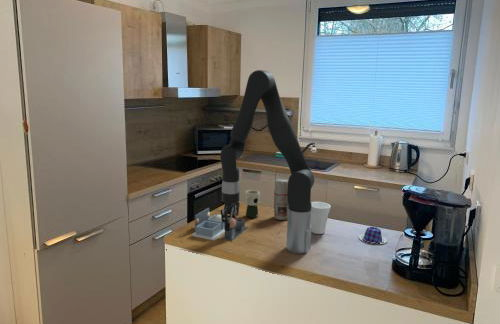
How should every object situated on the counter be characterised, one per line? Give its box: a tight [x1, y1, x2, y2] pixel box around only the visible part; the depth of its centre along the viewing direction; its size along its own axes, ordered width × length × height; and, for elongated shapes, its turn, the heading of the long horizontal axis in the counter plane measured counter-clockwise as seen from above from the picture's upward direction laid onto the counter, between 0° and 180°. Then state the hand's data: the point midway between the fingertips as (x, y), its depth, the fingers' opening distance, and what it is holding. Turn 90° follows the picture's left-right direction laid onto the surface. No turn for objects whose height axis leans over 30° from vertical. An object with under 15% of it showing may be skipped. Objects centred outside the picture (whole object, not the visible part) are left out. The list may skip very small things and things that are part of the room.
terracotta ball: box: [224, 217, 237, 229], centre depth 170 cm, size 5×5×5 cm
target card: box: [194, 207, 211, 233], centre depth 181 cm, size 1×13×8 cm, turn 157°
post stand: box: [221, 218, 248, 242], centre depth 176 cm, size 5×16×5 cm, turn 157°
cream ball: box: [214, 214, 222, 222], centre depth 183 cm, size 5×5×5 cm
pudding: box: [358, 226, 388, 245], centre depth 174 cm, size 12×12×5 cm
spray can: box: [273, 178, 289, 221], centre depth 196 cm, size 8×8×20 cm
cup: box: [310, 201, 332, 235], centre depth 179 cm, size 10×10×13 cm
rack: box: [191, 213, 225, 241], centre depth 179 cm, size 11×20×4 cm, turn 157°
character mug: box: [244, 189, 261, 218], centre depth 197 cm, size 11×7×13 cm, turn 149°
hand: (230, 228), depth 171 cm, fingers closed on terracotta ball, 5 cm apart
